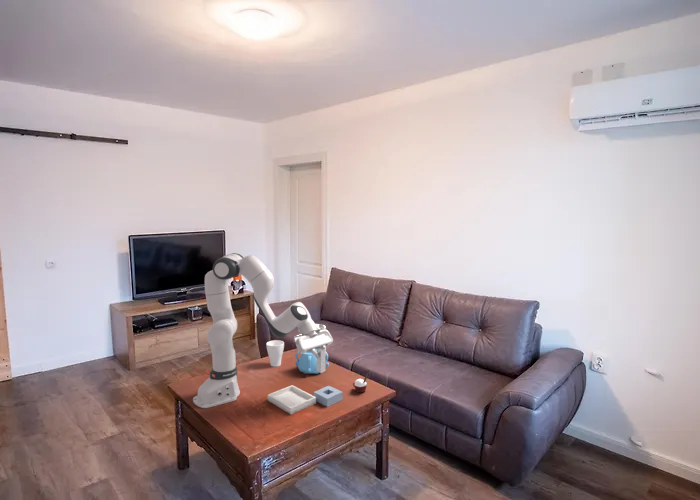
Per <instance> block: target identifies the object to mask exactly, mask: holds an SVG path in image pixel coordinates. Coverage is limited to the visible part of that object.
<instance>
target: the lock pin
mask: <svg viewBox="0 0 700 500" xmlns="http://www.w3.org/2000/svg"><path fill="white" fill-rule="evenodd" d="M326 352H327V349H326V350H325V349H323V348H319V349H317V353H319V355H320V357H319V358H317V372H319V373H320V374H322V373H326V367H325V363H326Z"/></svg>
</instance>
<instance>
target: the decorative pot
mask: <svg viewBox="0 0 700 500" xmlns="http://www.w3.org/2000/svg"><path fill="white" fill-rule="evenodd" d="M315 351H316V352H317V349H316V350H315ZM299 354H300V353H299V352H298V351H297V352H296V353H295V359H296V361H295V362H294V365H295V366H296V367H297V368H298V370H299V371H300V372H301V373H303V374H304V375H305V374H314V375H319V372H317V358H316V357H315V355H313V354H312V353H311V351H309V352H306V353H303V354H300V357H298V355H299ZM328 360H329V354H328V353H327V355H326V363H325V368H328V367H330V363H329V362H328Z"/></svg>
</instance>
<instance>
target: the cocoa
mask: <svg viewBox="0 0 700 500" xmlns="http://www.w3.org/2000/svg"><path fill="white" fill-rule="evenodd" d="M369 373H370V369H368V370H367V371H366V373H365V376H364V379H362V378H358V379H356V380H355V381H354V382H353V383H352V386H353V387H354V389H355V391H356V392H357V393H364V392H366V389H367V385H368V383H367V382H366V381H367V378H368V375H369Z"/></svg>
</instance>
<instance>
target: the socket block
mask: <svg viewBox="0 0 700 500" xmlns="http://www.w3.org/2000/svg"><path fill="white" fill-rule="evenodd" d="M313 396H314V397H316V403H318V404H319V403H320V405H323V406H324V407H330V406H331V405H334V404H336V403H338V402H341V401H343V399H344V397H343V391H341V390H339V389H338V388H335V387H332V386H330V385H327V386H324V387H322V388H320V389H318V390H315V391H313Z"/></svg>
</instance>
